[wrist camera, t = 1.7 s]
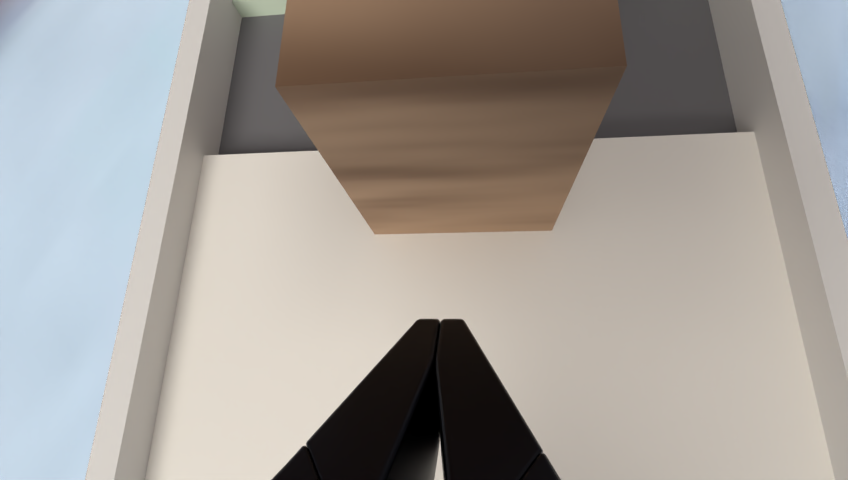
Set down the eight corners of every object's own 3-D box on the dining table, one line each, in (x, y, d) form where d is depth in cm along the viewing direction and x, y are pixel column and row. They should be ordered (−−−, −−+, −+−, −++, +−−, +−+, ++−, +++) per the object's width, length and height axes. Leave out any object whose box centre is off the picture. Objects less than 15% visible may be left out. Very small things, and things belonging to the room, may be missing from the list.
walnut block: (551, 230, 20) (627, 65, 10) (374, 234, 21) (275, 86, 11) (539, 61, 23) (587, -206, 13) (383, 71, 24) (309, -171, 14)
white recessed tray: (859, 560, 17) (949, 600, 14) (135, 521, 20) (70, 546, 17) (702, -107, 27) (732, -173, 24) (242, -62, 31) (214, -115, 27)
